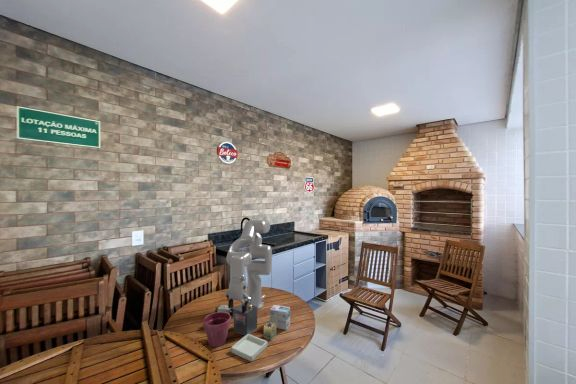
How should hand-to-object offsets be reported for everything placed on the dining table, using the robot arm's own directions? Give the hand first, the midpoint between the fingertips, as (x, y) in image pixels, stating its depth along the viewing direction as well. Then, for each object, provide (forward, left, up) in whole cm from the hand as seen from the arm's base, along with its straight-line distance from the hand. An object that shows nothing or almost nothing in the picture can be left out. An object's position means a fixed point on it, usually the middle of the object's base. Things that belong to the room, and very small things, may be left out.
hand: (237, 309), depth 133 cm
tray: (+3, +11, -16) cm, 20 cm away
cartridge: (-11, +14, -16) cm, 24 cm away
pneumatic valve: (-7, -16, -16) cm, 24 cm away
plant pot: (+7, -8, -16) cm, 20 cm away
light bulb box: (-23, +13, -17) cm, 31 cm away
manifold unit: (-9, -2, -16) cm, 19 cm away
